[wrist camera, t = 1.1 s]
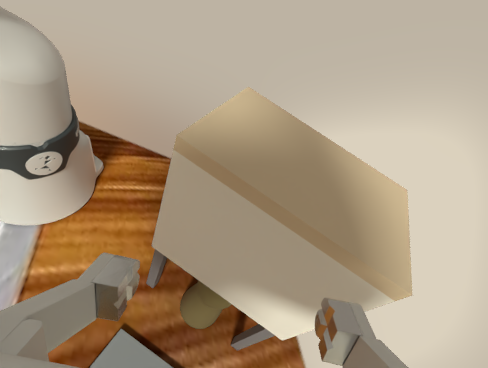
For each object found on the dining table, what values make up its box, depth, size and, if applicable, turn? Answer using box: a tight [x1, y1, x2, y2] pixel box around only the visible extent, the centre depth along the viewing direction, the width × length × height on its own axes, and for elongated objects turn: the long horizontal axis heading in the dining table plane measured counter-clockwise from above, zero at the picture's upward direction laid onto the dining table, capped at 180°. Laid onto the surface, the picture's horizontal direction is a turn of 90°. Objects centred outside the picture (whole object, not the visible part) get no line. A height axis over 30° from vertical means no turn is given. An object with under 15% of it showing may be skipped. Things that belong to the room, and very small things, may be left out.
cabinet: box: [146, 87, 412, 350], centre depth 28 cm, size 10×16×29 cm, turn 62°
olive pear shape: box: [180, 280, 231, 329], centre depth 33 cm, size 6×6×11 cm
